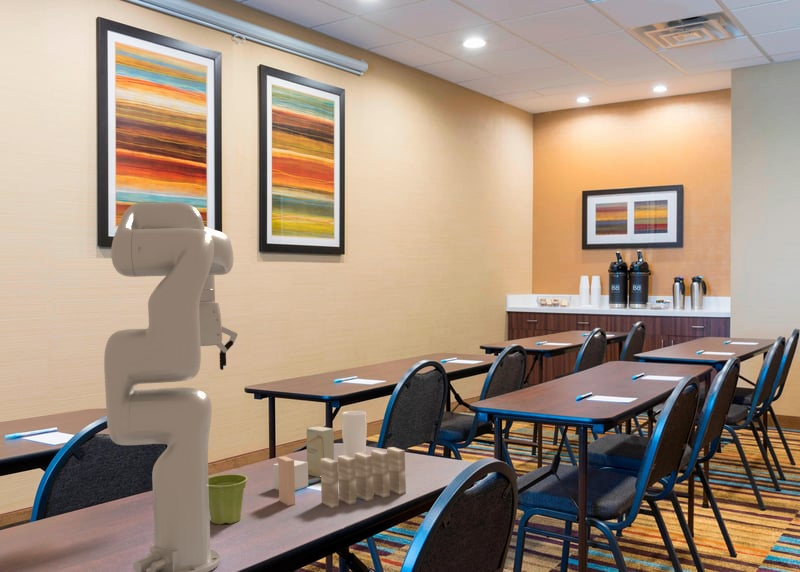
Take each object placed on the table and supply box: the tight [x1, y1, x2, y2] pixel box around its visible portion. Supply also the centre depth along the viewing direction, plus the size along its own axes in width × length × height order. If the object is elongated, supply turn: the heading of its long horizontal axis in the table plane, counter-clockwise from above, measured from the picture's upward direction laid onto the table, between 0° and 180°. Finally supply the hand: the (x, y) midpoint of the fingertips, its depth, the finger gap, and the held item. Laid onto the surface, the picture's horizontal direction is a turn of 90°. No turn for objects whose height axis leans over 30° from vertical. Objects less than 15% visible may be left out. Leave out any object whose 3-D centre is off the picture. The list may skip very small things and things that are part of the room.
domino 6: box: [386, 446, 407, 495], centre depth 179 cm, size 2×5×10 cm, turn 32°
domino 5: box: [370, 449, 391, 499], centre depth 177 cm, size 2×5×10 cm, turn 32°
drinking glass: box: [340, 410, 368, 458], centre depth 203 cm, size 7×7×15 cm
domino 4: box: [355, 452, 374, 502], centre depth 175 cm, size 2×5×10 cm, turn 32°
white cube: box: [272, 459, 309, 492], centre depth 186 cm, size 6×6×6 cm
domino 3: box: [337, 454, 357, 505], centre depth 172 cm, size 2×5×10 cm, turn 32°
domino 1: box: [277, 455, 296, 507], centre depth 173 cm, size 2×5×10 cm, turn 32°
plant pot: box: [208, 473, 249, 525], centre depth 161 cm, size 9×9×9 cm
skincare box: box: [306, 425, 335, 478], centre depth 197 cm, size 6×4×12 cm
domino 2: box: [320, 458, 340, 509], centre depth 170 cm, size 2×5×10 cm, turn 32°
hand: (200, 370), depth 178 cm, fingers open, 9 cm apart
